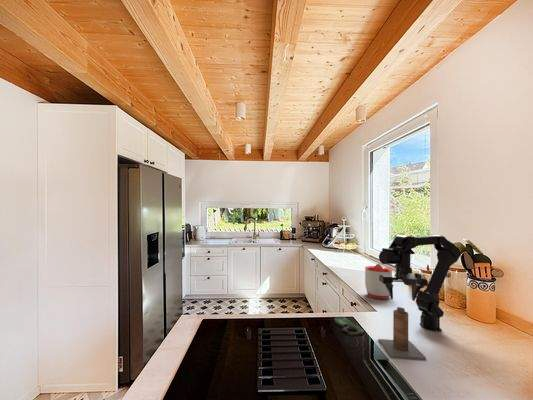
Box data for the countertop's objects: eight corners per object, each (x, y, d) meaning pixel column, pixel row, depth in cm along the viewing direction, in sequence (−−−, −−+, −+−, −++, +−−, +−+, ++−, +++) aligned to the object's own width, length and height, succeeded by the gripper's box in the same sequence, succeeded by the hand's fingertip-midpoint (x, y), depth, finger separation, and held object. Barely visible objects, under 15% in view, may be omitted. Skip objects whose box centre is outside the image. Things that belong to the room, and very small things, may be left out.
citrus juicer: (394, 295, 163) (394, 262, 164) (390, 303, 148) (390, 267, 149) (368, 290, 171) (368, 259, 172) (362, 297, 157) (362, 264, 158)
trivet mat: (409, 342, 103) (409, 340, 103) (426, 360, 91) (426, 357, 91) (378, 341, 104) (378, 339, 104) (390, 358, 92) (390, 355, 92)
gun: (327, 318, 122) (345, 316, 125) (327, 321, 122) (345, 319, 125) (347, 334, 107) (368, 331, 110) (347, 338, 107) (368, 335, 110)
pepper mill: (400, 343, 101) (400, 305, 101) (411, 350, 96) (411, 310, 96) (390, 345, 99) (390, 306, 100) (401, 352, 94) (401, 311, 95)
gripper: (388, 266, 108) (388, 305, 107) (435, 269, 107) (435, 307, 106) (378, 261, 119) (378, 296, 118) (421, 263, 118) (420, 298, 117)
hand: (402, 299), depth 115 cm, fingers open, 9 cm apart
